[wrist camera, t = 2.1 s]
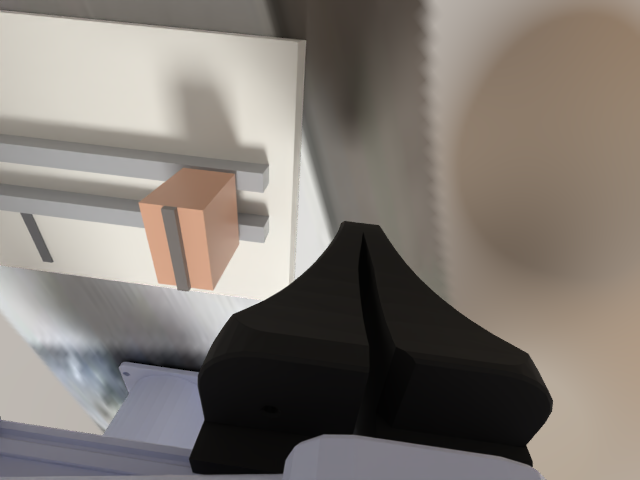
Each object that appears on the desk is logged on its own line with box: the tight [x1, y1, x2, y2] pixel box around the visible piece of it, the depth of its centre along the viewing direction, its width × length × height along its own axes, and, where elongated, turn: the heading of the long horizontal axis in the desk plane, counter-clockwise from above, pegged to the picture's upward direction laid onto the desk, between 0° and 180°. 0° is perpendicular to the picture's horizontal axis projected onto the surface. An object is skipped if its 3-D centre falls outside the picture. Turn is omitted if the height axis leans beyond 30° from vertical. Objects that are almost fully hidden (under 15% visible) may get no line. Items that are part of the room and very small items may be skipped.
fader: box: [138, 168, 239, 291], centre depth 12 cm, size 3×2×4 cm, turn 176°
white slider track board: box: [0, 10, 306, 301], centre depth 15 cm, size 12×18×3 cm, turn 86°
